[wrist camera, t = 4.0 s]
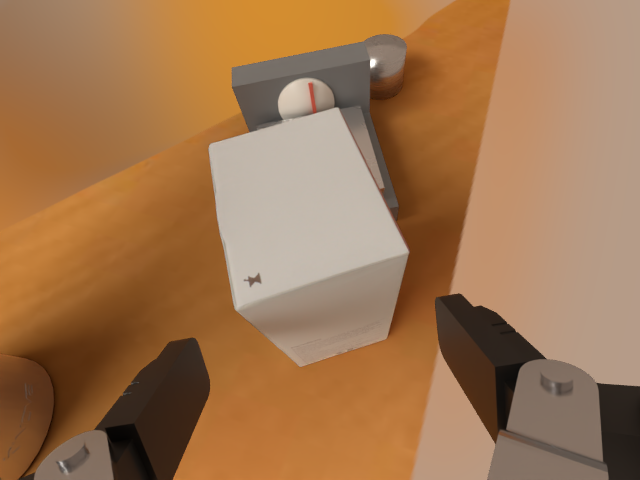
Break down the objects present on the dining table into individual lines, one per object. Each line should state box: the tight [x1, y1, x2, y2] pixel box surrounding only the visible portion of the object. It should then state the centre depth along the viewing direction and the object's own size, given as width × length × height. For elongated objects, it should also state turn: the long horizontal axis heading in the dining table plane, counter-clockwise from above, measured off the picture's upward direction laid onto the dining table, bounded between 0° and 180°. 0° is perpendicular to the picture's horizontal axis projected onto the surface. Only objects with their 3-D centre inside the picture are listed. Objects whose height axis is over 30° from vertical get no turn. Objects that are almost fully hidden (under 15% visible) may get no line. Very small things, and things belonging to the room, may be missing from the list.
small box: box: [208, 107, 410, 367], centre depth 18 cm, size 8×6×13 cm
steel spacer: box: [364, 34, 407, 100], centre depth 33 cm, size 4×4×4 cm
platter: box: [257, 105, 385, 197], centre depth 27 cm, size 9×9×1 cm
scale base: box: [232, 42, 399, 221], centre depth 27 cm, size 11×13×7 cm
